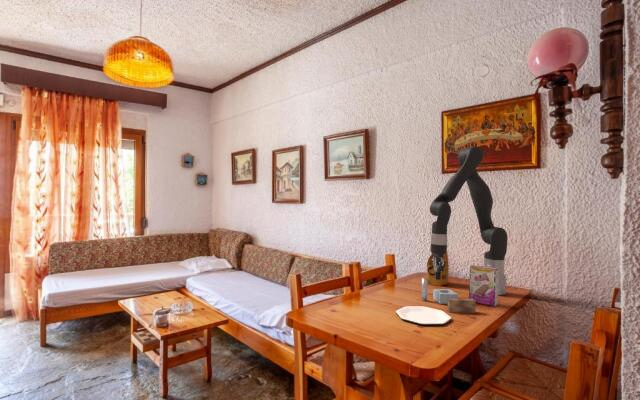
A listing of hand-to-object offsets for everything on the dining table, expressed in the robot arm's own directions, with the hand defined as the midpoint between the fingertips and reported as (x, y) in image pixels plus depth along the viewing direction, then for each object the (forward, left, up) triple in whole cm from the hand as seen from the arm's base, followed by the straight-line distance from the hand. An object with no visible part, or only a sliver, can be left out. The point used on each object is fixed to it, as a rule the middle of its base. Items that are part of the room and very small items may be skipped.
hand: (437, 279), depth 165 cm
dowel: (+9, +7, -8) cm, 14 cm away
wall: (-2, +22, -8) cm, 24 cm away
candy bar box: (-17, +10, -9) cm, 22 cm away
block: (0, +8, -8) cm, 12 cm away
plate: (+17, +29, -9) cm, 35 cm away
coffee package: (-9, -25, -9) cm, 28 cm away
